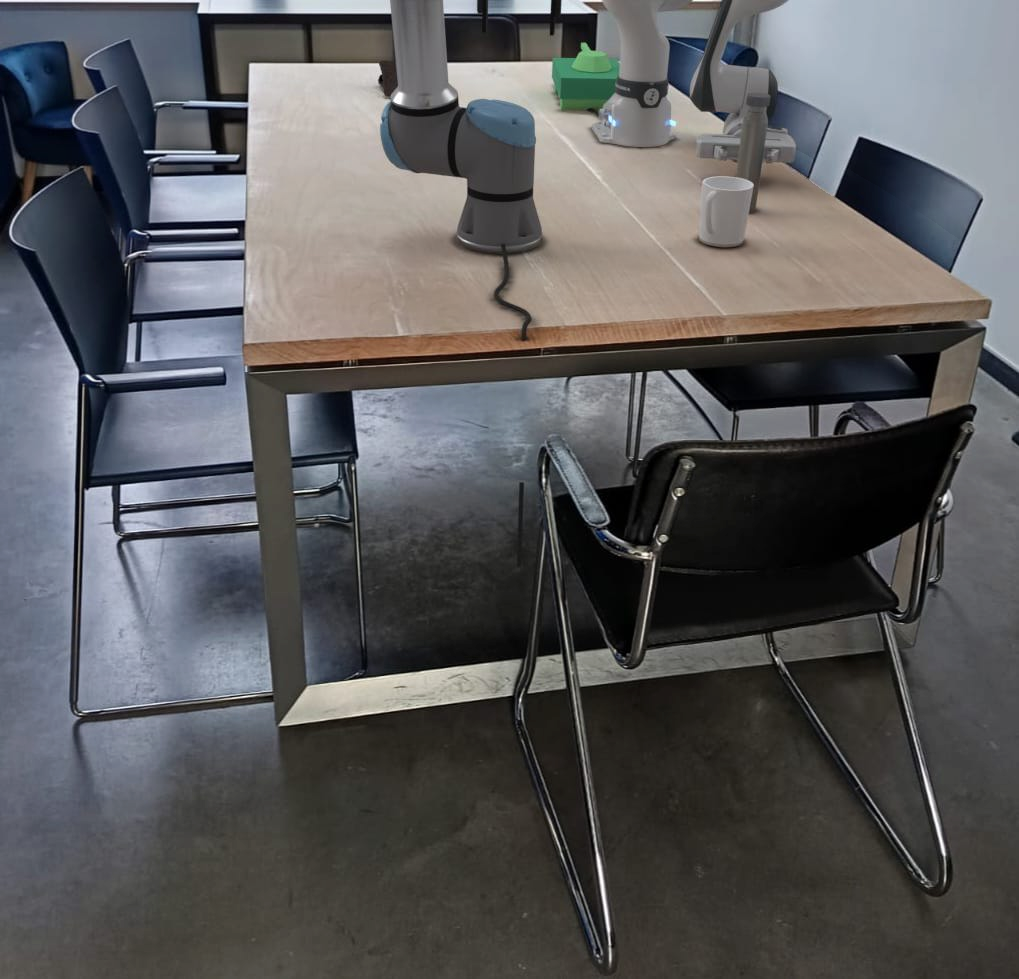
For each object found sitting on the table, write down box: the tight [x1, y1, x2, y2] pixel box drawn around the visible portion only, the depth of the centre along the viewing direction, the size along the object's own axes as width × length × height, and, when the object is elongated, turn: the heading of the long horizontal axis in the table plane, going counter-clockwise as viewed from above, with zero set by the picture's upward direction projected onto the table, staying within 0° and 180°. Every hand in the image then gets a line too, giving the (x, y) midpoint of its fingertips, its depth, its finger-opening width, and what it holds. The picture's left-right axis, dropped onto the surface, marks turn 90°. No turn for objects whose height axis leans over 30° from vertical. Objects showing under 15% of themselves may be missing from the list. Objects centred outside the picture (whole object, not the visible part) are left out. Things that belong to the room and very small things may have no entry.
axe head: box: [377, 59, 398, 98], centre depth 299 cm, size 18×8×15 cm
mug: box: [698, 175, 754, 248], centre depth 195 cm, size 11×9×10 cm
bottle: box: [735, 106, 769, 214], centre depth 209 cm, size 5×5×21 cm
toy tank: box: [551, 42, 620, 111], centre depth 293 cm, size 18×12×35 cm
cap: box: [746, 93, 770, 107], centre depth 204 cm, size 4×4×2 cm
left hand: (518, 33), depth 220 cm, fingers open, 13 cm apart
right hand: (746, 158), depth 222 cm, fingers open, 8 cm apart
